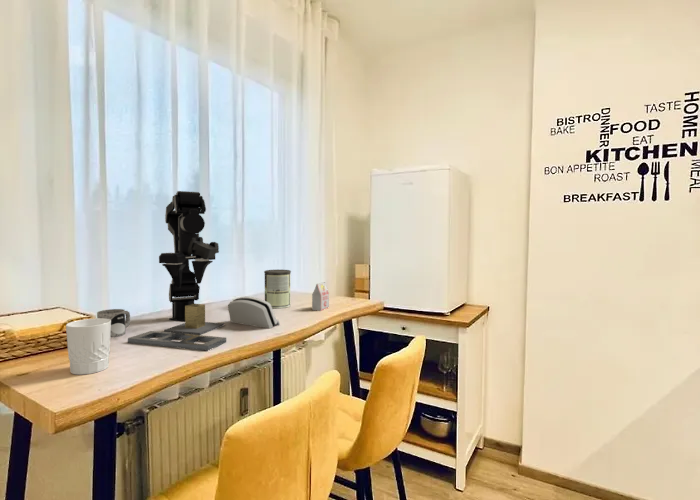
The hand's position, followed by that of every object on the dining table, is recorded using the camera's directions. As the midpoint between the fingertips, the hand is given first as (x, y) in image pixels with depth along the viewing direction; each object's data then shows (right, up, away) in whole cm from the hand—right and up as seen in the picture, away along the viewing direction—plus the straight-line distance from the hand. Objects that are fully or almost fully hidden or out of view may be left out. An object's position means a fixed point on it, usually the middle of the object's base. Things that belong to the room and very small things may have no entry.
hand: (189, 285), depth 117 cm
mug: (-18, -13, -6) cm, 24 cm away
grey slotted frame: (+3, -14, -15) cm, 20 cm away
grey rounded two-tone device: (+17, -13, +6) cm, 23 cm away
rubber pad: (+2, -13, 0) cm, 13 cm away
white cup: (-6, -15, -35) cm, 38 cm away
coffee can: (+20, -12, +37) cm, 43 cm away
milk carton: (+37, -12, +32) cm, 51 cm away
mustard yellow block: (+2, -12, 0) cm, 13 cm away
